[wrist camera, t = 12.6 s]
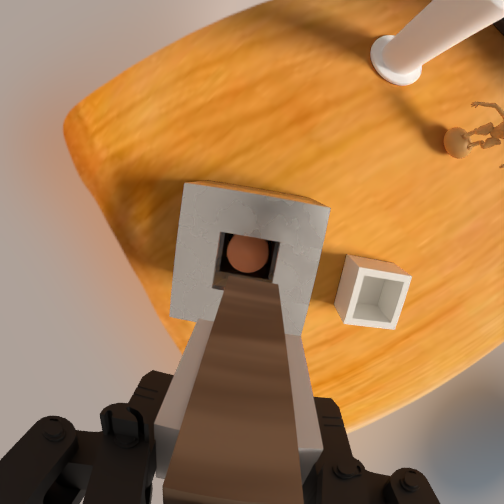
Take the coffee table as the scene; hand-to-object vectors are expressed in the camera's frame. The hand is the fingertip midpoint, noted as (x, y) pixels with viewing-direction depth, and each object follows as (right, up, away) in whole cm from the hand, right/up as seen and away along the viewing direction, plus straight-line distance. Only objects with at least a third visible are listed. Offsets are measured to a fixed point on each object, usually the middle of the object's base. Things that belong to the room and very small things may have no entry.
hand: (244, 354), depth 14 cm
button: (0, +6, +23) cm, 24 cm away
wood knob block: (0, +1, +6) cm, 6 cm away
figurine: (+27, +19, +20) cm, 38 cm away
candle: (+18, +29, +18) cm, 38 cm away
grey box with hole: (0, +6, +24) cm, 24 cm away
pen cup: (+14, +1, +25) cm, 28 cm away
